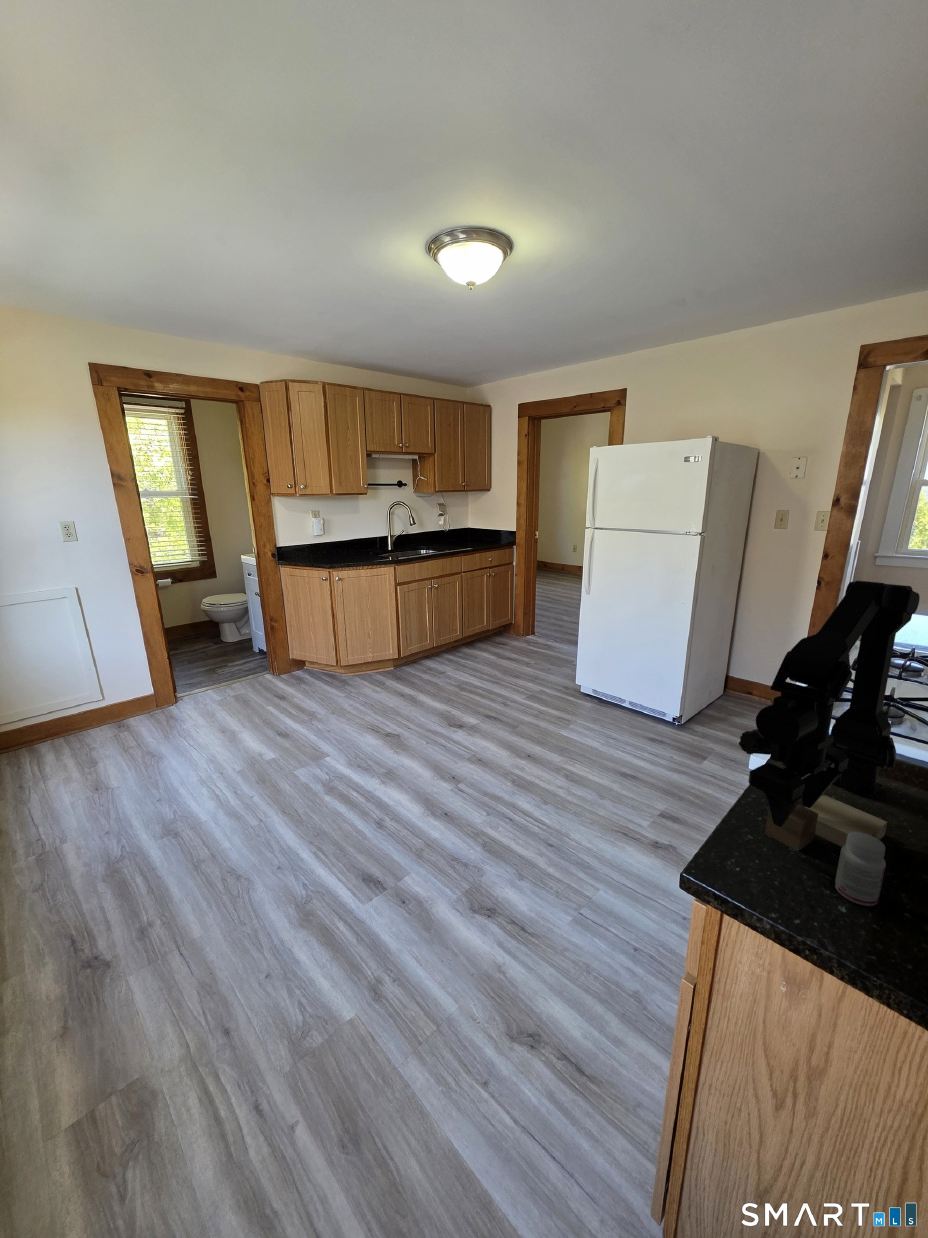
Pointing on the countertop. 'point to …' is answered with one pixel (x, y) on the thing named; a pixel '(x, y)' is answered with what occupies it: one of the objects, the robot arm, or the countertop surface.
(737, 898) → the countertop surface
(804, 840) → the walnut cube
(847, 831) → the maple block
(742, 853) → the countertop surface
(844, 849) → the pill bottle
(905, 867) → the countertop surface
